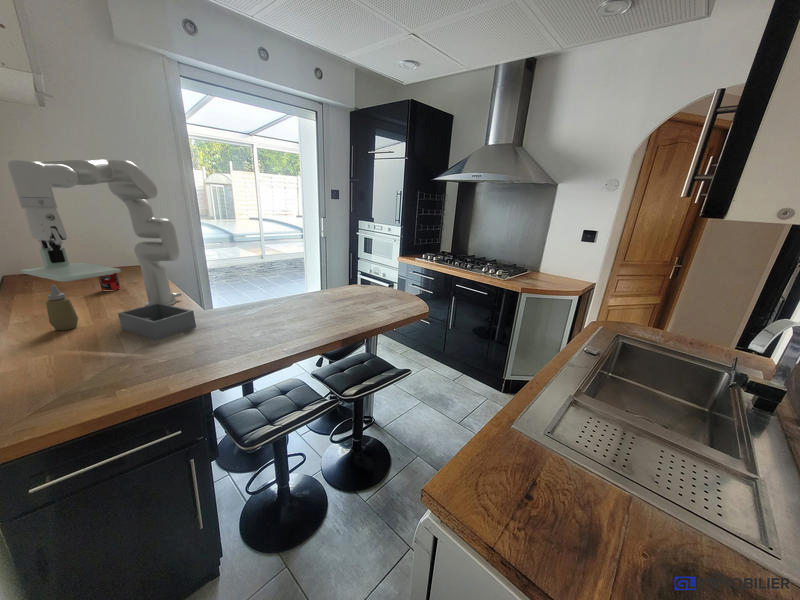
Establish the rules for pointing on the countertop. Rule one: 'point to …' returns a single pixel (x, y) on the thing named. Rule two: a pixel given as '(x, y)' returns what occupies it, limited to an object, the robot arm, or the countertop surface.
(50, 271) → the lid
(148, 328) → the tub
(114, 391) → the countertop surface
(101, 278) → the canned food
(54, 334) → the countertop surface
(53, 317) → the squeeze bottle
